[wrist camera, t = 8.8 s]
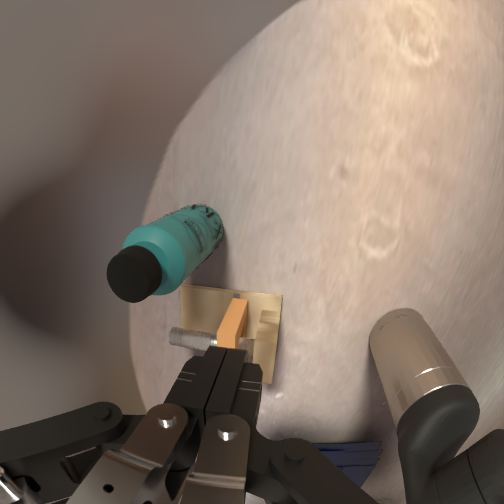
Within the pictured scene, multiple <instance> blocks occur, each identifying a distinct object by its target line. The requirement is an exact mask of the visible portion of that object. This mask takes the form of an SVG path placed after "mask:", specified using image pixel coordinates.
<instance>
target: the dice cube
mask: <svg viewBox="0 0 504 504" xmlns="http://www.w3.org/2000/svg"><path fill="white" fill-rule="evenodd" d="M376 502H378V503H379V504H391V499H387V500H380V501H376Z"/></svg>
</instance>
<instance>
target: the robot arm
mask: <svg viewBox="0 0 504 504" xmlns="http://www.w3.org/2000/svg"><path fill="white" fill-rule="evenodd" d="M369 345H370V349H371V352H372V355H373V358H374V361H375V364H376V367H377V370H378V373H379V376H380V379H381V382H382V385H383V389H384V392H385V395H386V398H387V401H388V405H389V408H390V411H391V415H392V418H393V421H394V425H395V428H396V432H397V436H398V440H399V441H398V452H399V457H400V462H401V467H402V473H403V479H404V487H405V495H406V504H504V429H496V430H493V431H492V432H490V433H489V434H487V435H486V436H485V437H483V438H482V439H480V440H479V441H478V442H476V443H475V444H473V445H472V446H471V447H469V448H468V449H466V450H465V451H464V452H462V453H461V454H459V455H458V456H456V457H455V458H454V456H455V455H456V453H457V452H458V450H459V449H460V448H461V446H462V445H463V444H464V442H465V441H466V440H467V438H468V437H469V436H470V435H471V433H472V432H473V430H474V428H475V426H476V425H477V422H478V419H479V415H480V408H479V404H478V402H477V399H476V398H475V396H474V394H473V393H472V391H471V389H470V388H469V386H468V384H467V383H466V381H465V380H464V378H463V376H462V375H461V373H460V372H459V370H458V369H457V367H456V366H455V364H454V362H453V361H452V359H451V358H450V356H449V355H448V353H447V352H446V350H445V349H444V347H443V346H442V344H441V343H440V341H439V340H438V339H437V337H436V336H435V334H434V333H433V331H432V330H431V328H430V327H429V326H428V324H427V323H426V321H425V320H424V319H423V317H422V316H421V315H420V314H419V313H418V312H416V311H414V310H411V309H398V310H394V311H392V312H390V313H388V314H386V315H385V316H383V317H382V318H381V319H380V320H379V321H378V322H377V323H376V324H375V326H374V327H373V329H372V331H371V334H370V338H369ZM262 379H263V372H262V369H261V367H260V365H259V364H255V363H248V350H243V349H235V348H226V347H218V346H211V345H209V347H208V349H207V351H206V353H205V355H204V357H201V356H194V357H192V358H191V359H190V360H188V361H187V362H186V363H185V365H184V366H183V368H182V370H181V372H180V374H179V376H178V377H177V379H176V381H175V383H174V385H173V386H172V388H171V390H170V392H169V394H168V396H167V397H166V399H165V401H164V403H163V404H158V405H156V406H154V407H152V408H151V409H149V411H148V412H147V413H146V414H145V415H122V412H121V410H120V408H119V407H118V406H117V405H115V404H113V403H110V402H97V403H94V404H91V405H88V406H85V407H82V408H79V409H76V410H73V411H70V412H66V413H63V414H60V415H57V416H54V417H50V418H47V419H44V420H40V421H37V422H33V423H30V424H26V425H22V426H19V427H15V428H11V429H7V430H3V431H0V504H45V503H49V502H52V501H56V500H59V499H63V498H66V497H69V496H71V497H70V498H67V499H64V500H61V501H58V502H55V503H52V504H178V502H179V500H180V498H181V496H182V498H181V501H180V504H245V497H246V492H248V493H251V494H253V495H256V496H258V497H261V498H263V499H264V500H265V502H266V504H379V503H378V502H376V501H375V500H374V499H373V498H372V497H370V496H369V495H368V494H367V493H366V492H365V491H363V490H362V489H361V488H360V487H359V486H358V485H356V484H355V483H354V482H353V481H352V480H351V479H350V478H348V477H347V476H346V475H345V474H344V473H343V472H342V471H341V470H340V469H338V468H337V467H336V466H335V465H334V464H333V463H332V462H331V461H330V460H329V459H328V458H327V457H326V456H324V455H323V454H322V453H321V452H320V451H319V450H318V449H317V448H316V447H315V446H314V445H313V444H311V443H310V442H308V441H306V440H303V439H297V438H291V439H285V440H282V441H280V442H275V441H272V440H269V439H267V438H265V437H264V436H262V435H261V434H260V433H259V432H258V431H257V430H256V424H257V419H258V413H259V408H260V402H261V392H262ZM91 447H96V448H95V449H92V450H89V451H86V452H84V453H81V454H78V455H75V456H72V457H66V456H69V455H72V454H74V453H78V452H80V451H83V450H86V449H89V448H91ZM197 454H198V455H197ZM196 457H197V459H196ZM195 460H196V462H195ZM192 473H193V474H192Z"/></svg>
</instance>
